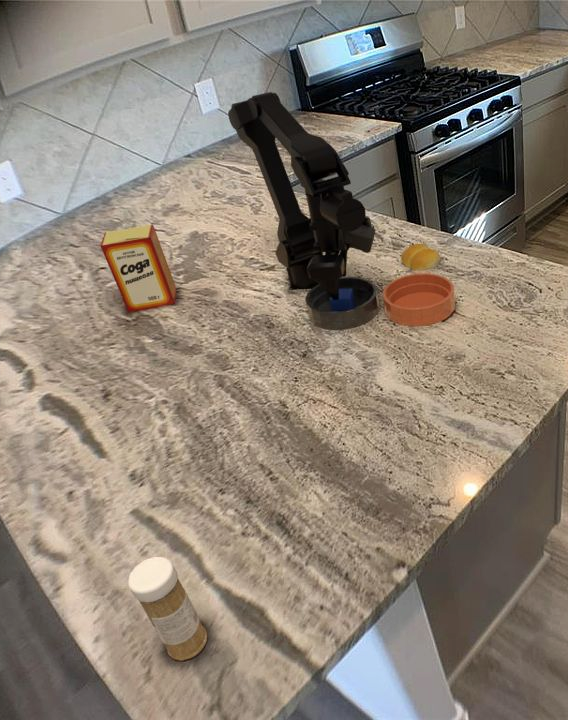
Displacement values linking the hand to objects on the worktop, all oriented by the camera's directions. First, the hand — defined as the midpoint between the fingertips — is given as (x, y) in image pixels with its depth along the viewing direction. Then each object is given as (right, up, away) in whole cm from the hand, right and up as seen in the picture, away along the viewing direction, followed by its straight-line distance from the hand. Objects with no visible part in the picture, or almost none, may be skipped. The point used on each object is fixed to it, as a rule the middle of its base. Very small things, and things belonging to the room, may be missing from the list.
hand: (339, 287), depth 132 cm
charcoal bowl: (0, -5, +3) cm, 6 cm away
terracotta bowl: (+16, -4, +3) cm, 17 cm away
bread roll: (+15, +7, +19) cm, 25 cm away
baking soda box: (-43, -2, +13) cm, 45 cm away
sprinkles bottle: (-7, -48, -54) cm, 73 cm away
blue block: (0, -4, +3) cm, 5 cm away
